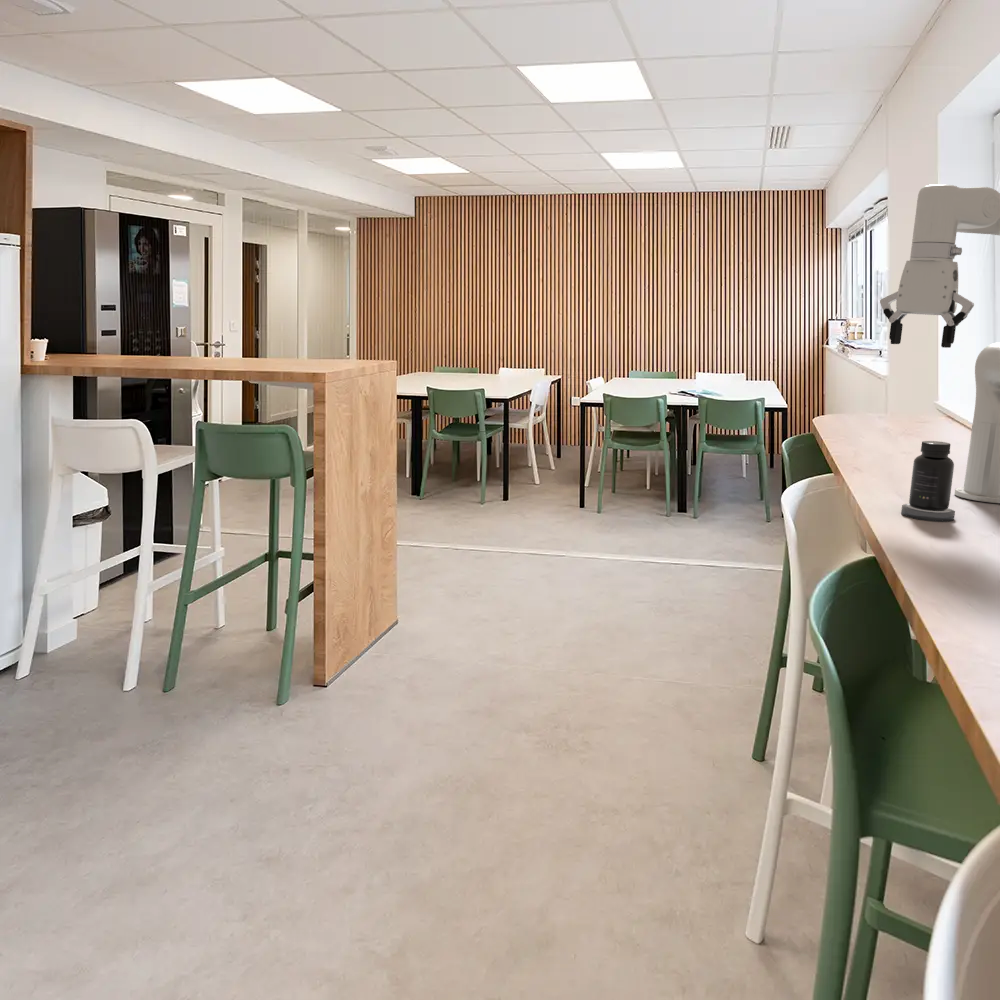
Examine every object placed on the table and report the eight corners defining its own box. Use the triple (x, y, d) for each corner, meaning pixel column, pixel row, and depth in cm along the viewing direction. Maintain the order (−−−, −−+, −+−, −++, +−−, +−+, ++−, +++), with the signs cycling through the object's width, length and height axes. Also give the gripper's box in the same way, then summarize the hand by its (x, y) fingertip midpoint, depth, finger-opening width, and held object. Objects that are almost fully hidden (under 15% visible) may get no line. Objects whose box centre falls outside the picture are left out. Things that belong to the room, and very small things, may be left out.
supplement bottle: (915, 502, 190) (923, 438, 188) (953, 508, 186) (962, 443, 184) (902, 506, 185) (911, 441, 183) (941, 512, 181) (951, 446, 179)
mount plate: (912, 509, 192) (913, 500, 192) (961, 517, 186) (962, 509, 186) (893, 514, 186) (894, 506, 185) (943, 523, 180) (944, 515, 179)
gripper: (986, 255, 188) (973, 348, 191) (894, 254, 199) (884, 342, 203) (972, 252, 182) (959, 348, 186) (878, 252, 194) (868, 342, 197)
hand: (920, 345), depth 194 cm, fingers open, 9 cm apart
